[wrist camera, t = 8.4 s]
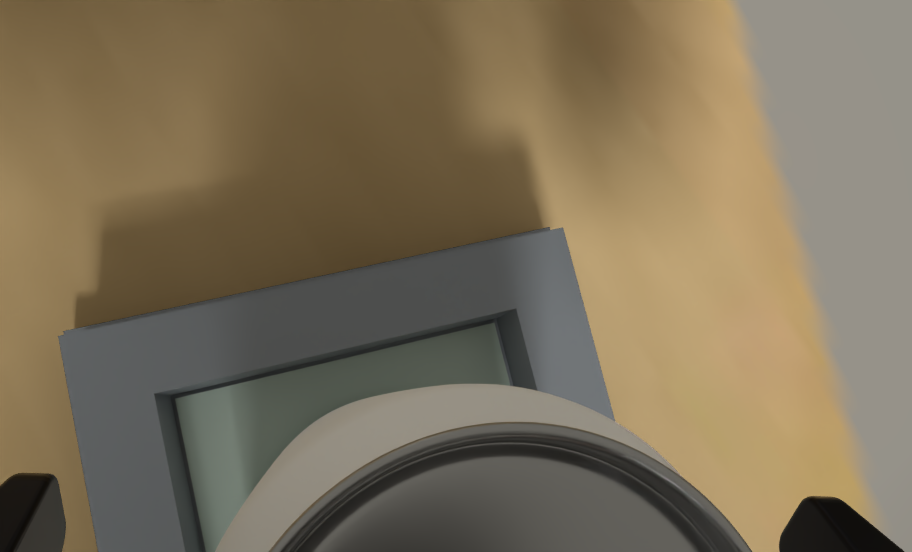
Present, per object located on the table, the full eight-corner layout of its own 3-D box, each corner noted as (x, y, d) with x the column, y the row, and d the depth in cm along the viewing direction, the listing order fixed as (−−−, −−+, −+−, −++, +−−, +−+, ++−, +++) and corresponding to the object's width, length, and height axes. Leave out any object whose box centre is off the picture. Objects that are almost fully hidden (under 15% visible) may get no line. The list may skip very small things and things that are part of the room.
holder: (661, 687, 20) (716, 730, 17) (172, 863, 18) (147, 945, 15) (540, 233, 21) (574, 208, 19) (73, 334, 19) (34, 321, 16)
